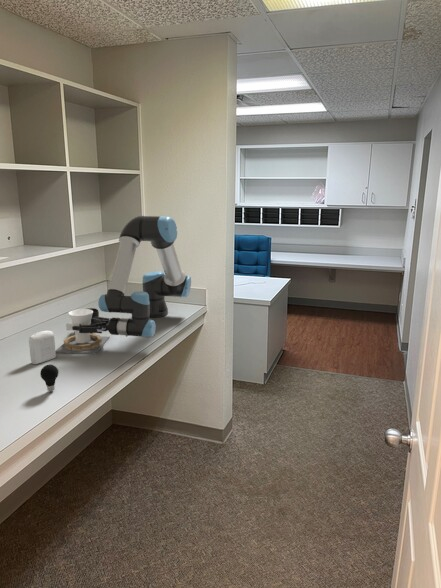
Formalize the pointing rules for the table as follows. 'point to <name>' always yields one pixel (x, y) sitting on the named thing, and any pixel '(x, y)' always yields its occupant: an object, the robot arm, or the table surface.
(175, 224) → the robot arm
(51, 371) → the light bulb
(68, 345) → the collar ring
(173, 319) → the table surface
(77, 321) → the cup
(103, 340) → the collar mat
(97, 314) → the pen holder
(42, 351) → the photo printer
